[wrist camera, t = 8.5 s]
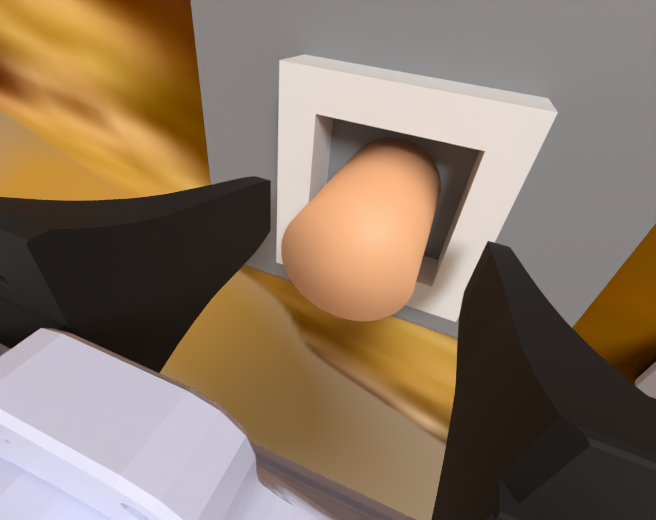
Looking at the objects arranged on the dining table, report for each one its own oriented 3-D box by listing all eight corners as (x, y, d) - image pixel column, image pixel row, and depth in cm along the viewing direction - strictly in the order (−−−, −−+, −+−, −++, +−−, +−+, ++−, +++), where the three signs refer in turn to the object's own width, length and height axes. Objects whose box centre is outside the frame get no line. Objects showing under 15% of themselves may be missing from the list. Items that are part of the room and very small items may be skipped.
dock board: (797, 10, 9) (903, 9, 7) (538, 350, 17) (546, 402, 15) (201, -56, 13) (140, -71, 11) (228, 247, 21) (197, 275, 19)
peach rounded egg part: (455, 150, 13) (434, 228, 8) (425, 239, 15) (397, 338, 11) (352, 127, 14) (282, 187, 9) (339, 215, 16) (280, 297, 12)
